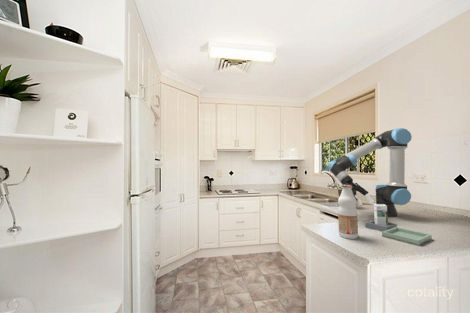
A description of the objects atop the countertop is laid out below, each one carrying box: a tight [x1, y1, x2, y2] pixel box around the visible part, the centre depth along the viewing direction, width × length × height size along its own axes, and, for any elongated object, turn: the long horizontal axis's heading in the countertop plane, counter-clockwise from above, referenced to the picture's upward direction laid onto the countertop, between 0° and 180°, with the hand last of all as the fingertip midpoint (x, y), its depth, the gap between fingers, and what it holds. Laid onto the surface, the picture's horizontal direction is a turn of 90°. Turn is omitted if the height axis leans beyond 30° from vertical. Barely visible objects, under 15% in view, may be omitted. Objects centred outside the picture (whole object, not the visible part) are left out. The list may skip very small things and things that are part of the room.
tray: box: [381, 226, 433, 246], centre depth 114 cm, size 16×16×2 cm
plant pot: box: [337, 188, 358, 198], centre depth 193 cm, size 15×15×16 cm
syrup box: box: [373, 203, 389, 226], centre depth 133 cm, size 6×6×14 cm
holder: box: [365, 220, 398, 232], centre depth 132 cm, size 12×12×3 cm
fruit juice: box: [337, 184, 359, 240], centre depth 119 cm, size 9×9×28 cm
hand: (367, 203), depth 138 cm, fingers open, 13 cm apart
